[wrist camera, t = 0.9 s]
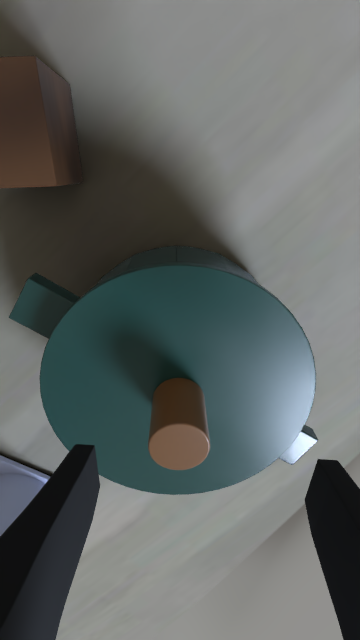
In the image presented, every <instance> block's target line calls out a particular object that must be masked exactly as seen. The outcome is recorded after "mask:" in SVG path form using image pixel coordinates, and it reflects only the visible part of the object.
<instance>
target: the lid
mask: <svg viewBox="0 0 360 640" xmlns="http://www.w3.org/2000/svg"><path fill="white" fill-rule="evenodd" d="M315 389H316V370H315V363H314V357H313V354H312V350H311V347H310V344H309V341H308V339H307V337H306V335H305V333H304V331H303V329H302V327H301V326H300V325H299V323H298V322H297V320H296V319H295V317H294V316H293V315H292V313H291V312H290V311H289V310H288V309H287V308H286V307H285V306H284V305H283V304H282V303H281V301H280V300H279V299H278V298H277V297H275V296H274V295H273V294H271V293H270V292H269V291H267V290H266V289H265V288H264V287H262V286H261V285H259V284H257V283H255V282H253V281H252V280H250V279H248V278H246V277H244V276H242V275H239V274H237V273H234V272H232V271H229V270H226V269H222V268H218V267H214V266H210V265H205V264H197V263H188V262H176V263H160V264H153V265H146V266H142V267H139V268H135V269H132V270H128V271H125V272H123V273H120V274H118V275H116V276H113V277H111V278H109V279H107V280H105V281H103V282H102V283H100V284H98V285H97V286H95V287H93V288H92V289H90V290H89V291H88V292H87V293H85V294H84V295H83V296H82V297H81V298H79V299H78V300H77V301H76V302H75V303H74V304H73V305H72V306H71V307H70V309H69V310H68V311H67V312H66V313H65V314H64V315H63V317H62V318H61V320H60V321H59V323H58V324H57V326H56V327H55V329H54V330H53V332H52V334H51V336H50V338H49V340H48V343H47V345H46V347H45V351H44V354H43V358H42V362H41V370H40V392H41V398H42V402H43V407H44V410H45V413H46V415H47V418H48V421H49V423H50V425H51V426H52V428H53V430H54V432H55V434H56V435H57V437H58V438H59V439H60V441H61V442H62V443H63V445H64V446H65V447H66V448H67V449H68V450H69V451H70V450H71V449H72V447H73V446H74V445H76V444H85V445H95V451H96V459H97V466H98V474H99V475H101V476H103V477H105V478H107V479H109V480H111V481H113V482H116V483H118V484H121V485H124V486H126V487H129V488H133V489H137V490H141V491H146V492H152V493H158V494H171V495H176V494H195V493H203V492H208V491H213V490H218V489H221V488H224V487H228V486H231V485H234V484H236V483H238V482H241V481H243V480H246V479H248V478H249V477H251V476H253V475H255V474H257V473H259V472H260V471H262V470H263V469H265V468H266V467H268V466H269V465H270V464H272V463H273V462H274V461H275V460H276V459H278V458H279V457H280V456H281V455H282V454H283V453H284V452H285V451H286V450H287V449H288V448H289V447H290V445H291V444H292V443H293V442H294V441H295V439H296V438H297V436H298V435H299V433H300V432H301V430H302V428H303V426H304V425H305V423H306V421H307V419H308V416H309V413H310V410H311V408H312V405H313V400H314V395H315Z"/></svg>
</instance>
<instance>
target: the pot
mask: <svg viewBox="0 0 360 640" xmlns="http://www.w3.org/2000/svg"><path fill="white" fill-rule="evenodd" d="M176 262H188V263H197V264H205V265H210V266H214V267H218V268H222V269H226V270H229V271H232V272H234V273H237V274H239V275H242V276H244V277H246V278H248V279H250V280H252V281H253V282H255V283H257V282H256V280H255V279H254V277H253V276H252V275H250V274H249V273H247V272H246V271H244V270H243V269H242V268H241V267H239V266H238V265H237V264H235V263H234V262H232V261H230V260H229V259H227V258H225V257H224V256H222V255H221V254H218V253H215V252H211V251H208V250H204V249H200V248H195V247H186V246H168V247H161V248H155V249H152V250H148V251H145V252H142V253H138V254H135V255H133V256H131V257H130V258H128V259H127V260H125V261H123V262H122V263H120V264H119V265H117V266H116V267H115V268H114V269H112V270H111V271H110V272H109V273H107V274H106V275H104V276H103V277H102V278H101V279H100V280H99V282H98V283H97V285H98V284H100V283H102V282H103V281H105V280H107V279H109V278H111V277H113V276H116V275H118V274H120V273H123V272H125V271H128V270H132V269H135V268H139V267H142V266H146V265H153V264H160V263H176ZM257 284H258V283H257ZM97 285H96V286H97ZM79 298H80V297H78V296H76V295H75V294H73V293H71V292H69V291H68V290H66V289H64V288H62V287H60V286H59V285H57V284H55V283H53V282H52V281H50V280H48V279H46V278H45V277H43V276H41V275H39V274H37V273H35V274H34V275H32V276H31V277H29V278H28V279H27V281H26V283H25V285H24V287H23V289H22V291H21V294H20V296H19V298H18V300H17V302H16V304H15V306H14V308H13V310H12V312H11V314H10V316H9V318H10V319H12V320H14V321H16V322H18V323H20V324H22V325H24V326H26V327H28V328H30V329H31V330H33V331H35V332H37V333H39V334H41V335H43V336H45V337H47V338H50V336H51V334H52V332H53V330H54V329H55V327H56V326H57V324H58V323H59V321H60V320H61V318H62V317H63V315H64V314H65V313H66V312H67V311H68V310H69V309H70V307H71V306H72V305H73V304H74V303H75V302H76V301H77V300H78V299H79ZM317 441H318V439H317V437H316V435H315V433H314V431H313V429H311V428H310V427H308V426H306V425H304V426H303V428H302V430H301V432H300V433H299V435H298V436H297V438H296V439H295V441H294V442H293V443H292V444H291V445H290V447H289V448H288V449H287V450H286V451H285V452H284V453H283V454H282V455H281V456H280V457H279V459H281V460H283V461H285V462H287V463H289V464H291V465H293V464H294V463H295V462H296V461H297V460H298V459H299V458H300V457H301V456H302V455H304V454H305V453H306V452H307V451H308V450H309V449H310V448H311V447H312V446H313V445H314V444H315V443H316V442H317Z"/></svg>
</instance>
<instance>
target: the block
mask: <svg viewBox="0 0 360 640" xmlns="http://www.w3.org/2000/svg"><path fill="white" fill-rule="evenodd" d="M78 183H83V177H82V169H81V162H80V155H79V148H78V140H77V133H76V126H75V118H74V111H73V104H72V97H71V89H70V84H69V83H67V82H66V81H65V80H64V79H62V78H61V77H60V76H59V75H58V74H56V73H55V72H54V71H53V70H51V69H50V68H49V67H48V66H47V65H45V64H44V63H43V62H42V61H40V60H39V59H38V58H37V57H36V56H13V57H0V188H21V187H49V186H62V185H70V184H78Z"/></svg>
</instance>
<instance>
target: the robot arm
mask: <svg viewBox="0 0 360 640" xmlns="http://www.w3.org/2000/svg"><path fill="white" fill-rule="evenodd" d="M99 488H100V482H99V474H98V466H97V459H96V451H95V445H85V444H76V445H74V446H73V447H72V449H71V450H70V452H69V453H68V454H67V456H66V457H65V459H64V460H63V461H62V463H61V464H60V465H59V467H58V468H57V469H56V471H55V472H54V473H53V475H52V476H48V475H46V474H43V473H41V472H39V471H36V470H34V469H32V468H29V467H27V466H24V465H22V464H20V463H17V462H15V461H13V460H10V459H8V458H5V457H3V456H1V455H0V640H55V639H56V635H57V631H58V627H59V623H60V619H61V616H62V612H63V609H64V605H65V602H66V599H67V596H68V593H69V590H70V587H71V584H72V581H73V578H74V575H75V572H76V569H77V566H78V563H79V559H80V556H81V553H82V550H83V547H84V544H85V541H86V538H87V535H88V532H89V529H90V526H91V523H92V520H93V515H94V511H95V507H96V502H97V498H98V493H99ZM305 504H306V509H307V514H308V520H309V524H310V529H311V534H312V537H313V541H314V544H315V548H316V550H317V554H318V557H319V560H320V564H321V567H322V570H323V573H324V576H325V580H326V583H327V586H328V589H329V593H330V596H331V599H332V602H333V605H334V608H335V612H336V615H337V618H338V621H339V625H340V629H341V632H342V636H343V639H344V640H360V489H359V487H358V486H357V485H356V484H355V482H354V481H353V480H352V478H351V477H350V476H349V475H348V473H347V472H346V471H345V469H344V468H343V467H342V465H341V464H340V463H339V462H338V461H337V460H322V459H318V461H317V464H316V467H315V470H314V473H313V476H312V479H311V482H310V485H309V488H308V491H307V494H306V497H305Z"/></svg>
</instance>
